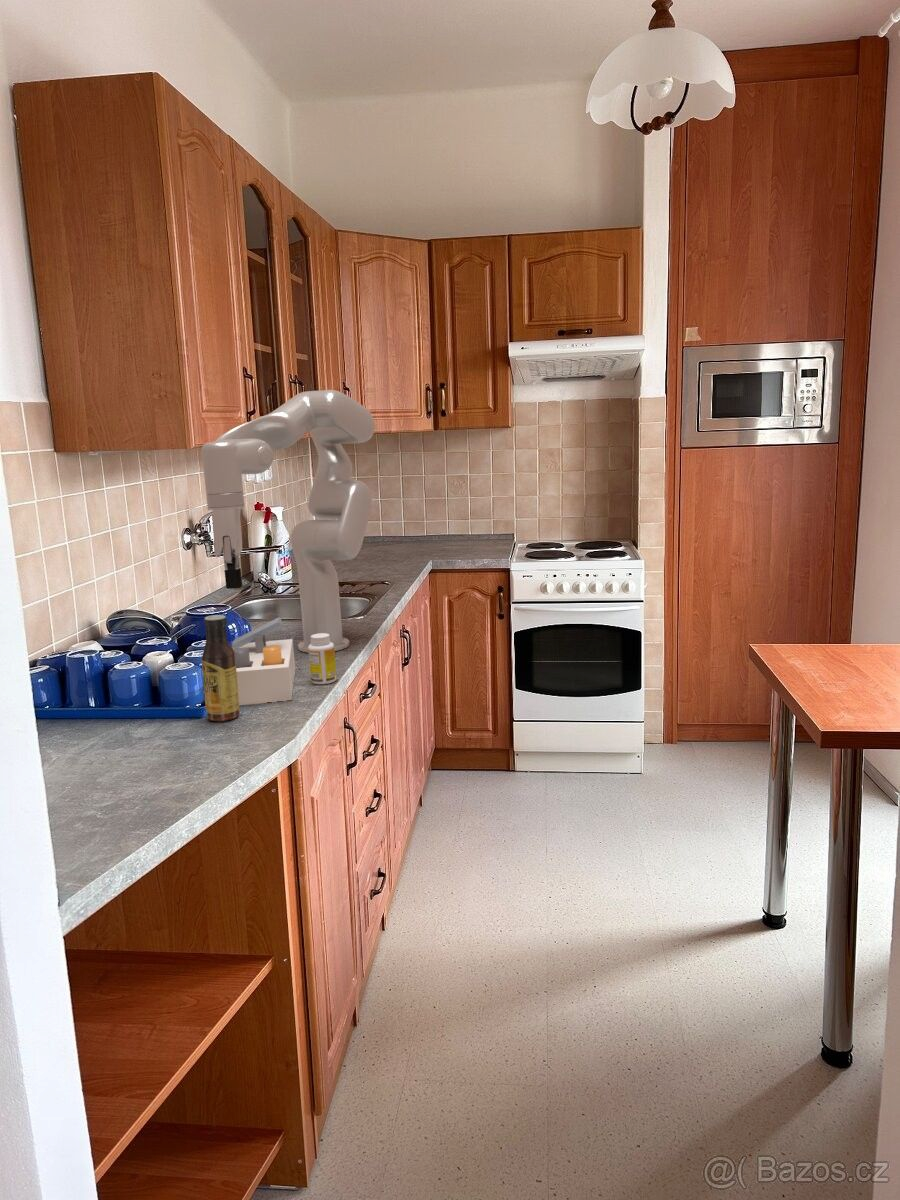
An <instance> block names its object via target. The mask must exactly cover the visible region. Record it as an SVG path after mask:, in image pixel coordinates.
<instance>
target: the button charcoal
mask: <svg viewBox="0 0 900 1200" xmlns="http://www.w3.org/2000/svg"><path fill="white" fill-rule="evenodd" d="M234 654H235V664H236V668H244V667H250V657H249V649H247V648H240V649H234Z"/></svg>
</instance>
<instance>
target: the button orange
mask: <svg viewBox="0 0 900 1200" xmlns="http://www.w3.org/2000/svg"><path fill="white" fill-rule="evenodd" d="M263 657H264V666H267V665H279V664H282V656H281V647H280V646H267V647H264V648H263Z"/></svg>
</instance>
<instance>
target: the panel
mask: <svg viewBox="0 0 900 1200" xmlns="http://www.w3.org/2000/svg"><path fill="white" fill-rule="evenodd" d="M267 646H280V647H281V656H282V664H279V665H267V666H264V657H263V648H264V647H267ZM232 648H233V646H232ZM240 648H247V649H249V657H250V667H244V668H236V672H237V685H238V697H239V706H248V705H249V706H250V705H259V704H260V705H261V704H268V703H267V702H272V703H278V702H277V701H283V702H288V701H287V700H293V690H294V684H293V683H294V682H295V673H296V662H295V653H294V639H293V638H289V639H277V640H266V634H265V635H263V636H259V637H255V640H254V641H251V642H249V643H247V644H245V645H243V646H241V647H239V648H237V649H240ZM233 650H234V648H233Z"/></svg>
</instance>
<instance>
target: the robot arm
mask: <svg viewBox="0 0 900 1200" xmlns="http://www.w3.org/2000/svg"><path fill="white" fill-rule="evenodd" d="M375 423H376V422H375V419H374V417H373V415H372V413H371V412H370V411H369V409H368V408H366V407H365V406H364V405H363V404H361V403H359V402H358V401H356V400H355V399H353V398H352V397H351V396H349V395H347V394H345V393H343V392H342V391H338V390H335V389H324V390H309V391H307V390H306V391H302V392H299V393H297V394H295V395H294V396H293V397H291V398H289V399H288V400H287V401H286V402H285V403H283V404H282V405H280V406H279V407H277V408H275V409H274V410H273V411H272V412H269V413H267V414H265V415H263V416H260V417H257V418H255V419H253V420H251V421H248V422H245V423H243V424H240V425H238V426H235V427H234V428H231V429H229V430H228V431H225V433H224V434H222V435H220V436H219V437H218V438H216V440H214V441H209V442H206V443H203V445H202V447H201V457H202V466H203V477H204V485H205V493H206V494H205V495H206V506H207V510H208V511H212V531H213V533H212V534H213V545H214V546H213V547H214V556H215V557H216V558H220V557H221V556H222V557H223V565H224V578H225V579H224V580H225V587H226V589H227V590H228V589H229V590H230V589H231V590H232V589H241V588H242V587H243V578H242V570H241V567H240V565H241V564H240V553H242V551H243V535H242V522H241V515H240V509H241V508H245V497H244V487H243V478H242V477H243V476H242V475H259V474H262V473H264V472H266V471H268V470H269V469H270V467H271V466H272V464H273V462H274V452H275V451H280V450H283V449H286V448H289V447H291V446H293V445H294V444H296V443H297V442H298V441H299V440H301V439H302V438H303V437H305V435H307V434H308V433H309V434H310V436H311V437H310V438H311V439H312V442H313V443H314V446H315V449H316V452H317V457H318V465H317V469H316V473H315V474H314V476H315V477H314V479H313V483H312V486H311V489H310V494H309V496H308V501H307V503H308V504H307V505H308V506H307V507H308V511H309V512H310V514H311V515H312V516H313V517H315V518H317V519H307V520H303V521H301V522H299V523H297V524H296V525H295V526H294V527H293V528H292V531H291V533H290V545H291V549H292V553H293V556H294V559H295V564H296V569H297V578H298V585H299V586H298V587H299V588H298V589H299V599H300V609H301V621H302V622H301V624H302V634H303V641H300V642H299V643H298V644H297V648H298V650H299V651H300V652H303V653H307V654H308V646H309V645H310V644H312V643H311V636H312V635H314V634H319V633H327V634H329V636H330V642H332V643H333V644H334V650H335V652H338V651H340V650H344V649H347V648H348V647H349V646H350V639H348V638H346V637H343V636H344V635H343V626H342V625H343V624H342V616H341V615H342V613H341V612H342V611H341V602H340V601H341V599H340V588H339V586H340V585H339V576H338V572H337V571H336V568H335V566H334V564H333V563H332V561H333V560H334V561H349V560H352V559H355V558H356V557H357V556H358V554H359V552H360V551H361V549H362V546H363V542H364V538H365V535H366V531H367V529H368V524H369V521H370V520H369V519H370V517H371V512H372V506H373V499H372V493H371V492H372V491H371V490H370V488H369V486H368V485H367V484H366V483H365V482H363V481H361V480H358V479H357V480H356V479H351V478H352V472H353V464H352V461H351V459H350V457H349V455H348V453H347V452H346V451H345V449H344V447H343V446H342V444H343V445H344V444H348V445H349V444H363V443H367V442H368V441H369V440H370V439H371V438H372V437H373V435H374V433H375V428H376V426H375Z"/></svg>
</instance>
